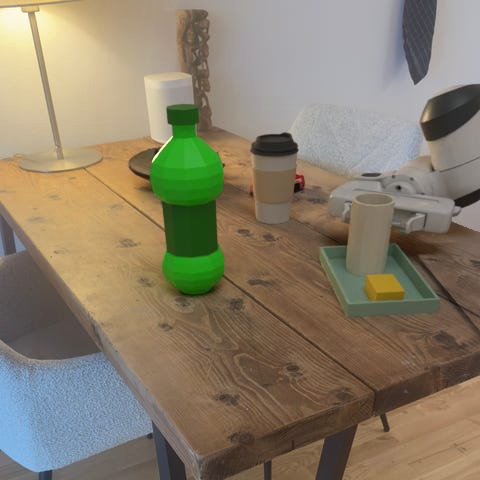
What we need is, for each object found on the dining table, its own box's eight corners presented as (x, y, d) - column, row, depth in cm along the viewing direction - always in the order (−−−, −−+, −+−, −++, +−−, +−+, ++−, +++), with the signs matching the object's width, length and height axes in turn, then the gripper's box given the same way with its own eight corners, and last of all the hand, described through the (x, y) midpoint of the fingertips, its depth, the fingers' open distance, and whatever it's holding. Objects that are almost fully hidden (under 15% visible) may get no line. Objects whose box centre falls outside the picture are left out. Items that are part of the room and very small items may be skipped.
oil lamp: (218, 164, 145) (216, 131, 140) (235, 200, 122) (234, 162, 117) (130, 170, 142) (126, 136, 137) (130, 207, 119) (125, 169, 114)
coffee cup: (269, 229, 108) (270, 143, 98) (241, 216, 113) (240, 134, 104) (304, 219, 112) (309, 135, 102) (276, 207, 118) (278, 127, 108)
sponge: (364, 290, 85) (366, 274, 84) (390, 289, 85) (392, 273, 84) (374, 308, 81) (377, 292, 79) (402, 307, 81) (405, 291, 79)
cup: (379, 260, 94) (388, 191, 87) (389, 275, 89) (400, 204, 82) (341, 262, 94) (348, 193, 87) (350, 277, 89) (358, 206, 82)
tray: (318, 261, 95) (319, 246, 94) (393, 257, 96) (396, 242, 94) (346, 321, 79) (348, 304, 78) (436, 316, 80) (440, 299, 78)
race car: (257, 200, 122) (257, 181, 119) (245, 193, 125) (244, 175, 123) (308, 190, 126) (309, 171, 124) (295, 184, 130) (296, 165, 128)
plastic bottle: (217, 305, 84) (208, 116, 68) (151, 297, 86) (128, 112, 70) (236, 277, 91) (232, 101, 75) (175, 271, 94) (159, 99, 78)
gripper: (459, 226, 95) (437, 255, 85) (345, 208, 103) (313, 232, 94) (468, 187, 91) (446, 212, 81) (348, 171, 99) (316, 193, 90)
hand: (374, 223), depth 88 cm, fingers open, 8 cm apart
